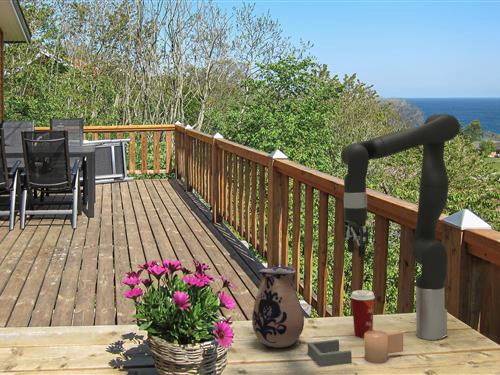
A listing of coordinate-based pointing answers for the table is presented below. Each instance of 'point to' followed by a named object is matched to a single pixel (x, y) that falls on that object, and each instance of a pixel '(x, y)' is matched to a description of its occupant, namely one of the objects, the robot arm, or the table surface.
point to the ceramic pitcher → (277, 308)
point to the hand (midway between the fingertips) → (356, 254)
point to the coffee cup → (362, 311)
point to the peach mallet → (382, 345)
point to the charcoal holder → (328, 358)
